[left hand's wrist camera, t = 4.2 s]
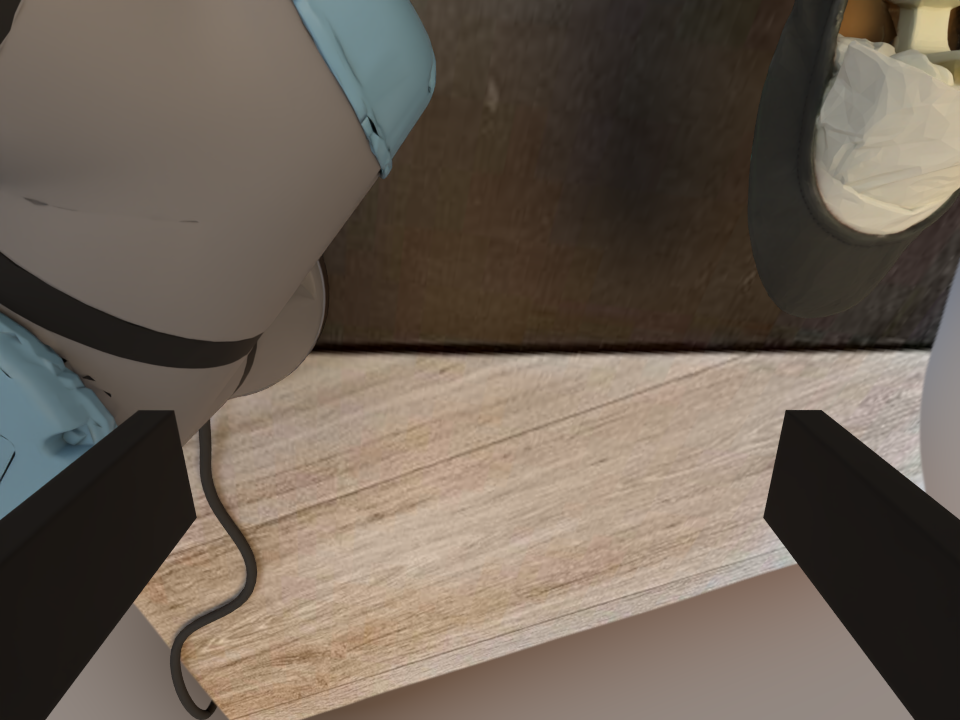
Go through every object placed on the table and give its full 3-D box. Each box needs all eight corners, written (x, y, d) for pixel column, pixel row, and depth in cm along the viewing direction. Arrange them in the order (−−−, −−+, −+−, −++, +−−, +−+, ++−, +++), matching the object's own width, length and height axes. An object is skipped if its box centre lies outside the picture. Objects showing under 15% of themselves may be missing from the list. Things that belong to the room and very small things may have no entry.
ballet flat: (705, 310, 28) (791, 374, 21) (802, -370, 20) (1011, -690, 12) (871, 308, 29) (1017, 372, 21) (1040, -369, 20) (1399, -688, 12)
